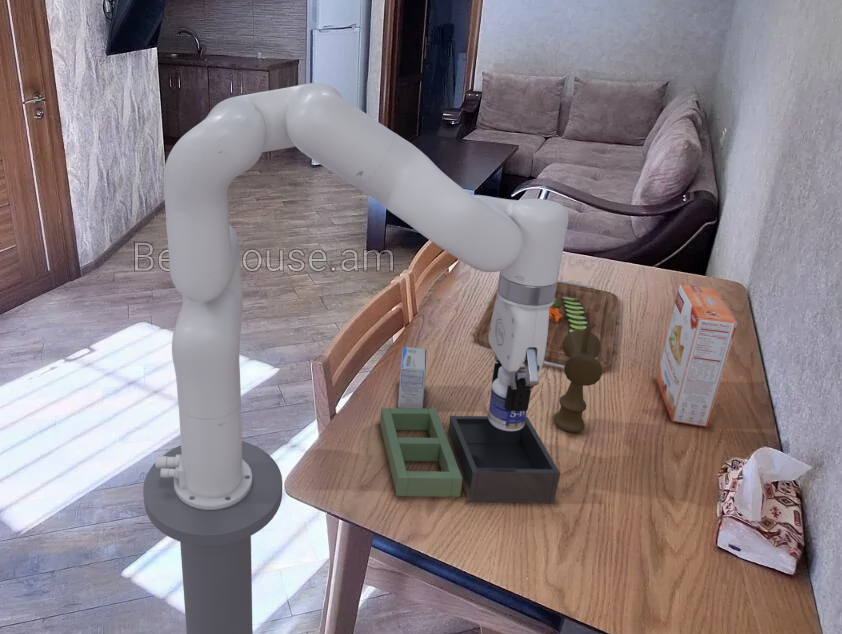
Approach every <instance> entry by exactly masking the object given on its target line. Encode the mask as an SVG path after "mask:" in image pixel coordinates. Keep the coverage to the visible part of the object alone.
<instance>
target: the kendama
mask: <svg viewBox="0 0 842 634" xmlns="http://www.w3.org/2000/svg"><path fill="white" fill-rule="evenodd" d="M590 331H591V325H590V324H588V325H587V327H586V329H585V330H575V331H572V332H569V333H568V334H567V335H566V336H565V338H564V340H563V343H562V349H563V351H564V353H565V355H566V356H567V357H569V359H568V360H567V362H566V364H565V366H564V370H563V371H564V375H565V377H566V379H567V380H568V381H570V383H569V386H568V388H567V390H566V392H565V394H562V396H560V397H559V400H558V402H559V405H560V408H559V411H558V412H557V413H555V414H554V416H553V419H552V420H553V422H554V423H553V424H554V425H555V426H556V427H557V428H559V429H560V430H562V431H563V432H568V433H575V434H576V433H581V432H582V431H584V430H585V426H586V424H585V421H584V419H583V412H585V410H587V403H586V401H585V400H584V386H585V387H589V386H593V385H596V384H597V383H598V382H599V381H600V380H601V377H602V376H603V373H602V366H601V364H600V362H599V361H598V360H597V359H595V358H596V357H597V356H598V355H599V352H600V350H601V343H600V341H599V339H598V337H597V336H596V335H594V334H593V333H591V332H590Z"/></svg>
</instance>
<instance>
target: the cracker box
mask: <svg viewBox="0 0 842 634" xmlns="http://www.w3.org/2000/svg"><path fill="white" fill-rule="evenodd" d="M726 305H727V304H726V303H725V302H724V301H723V299H722V298H721V296H720V295H719V293H718V291H717V290H716V289H715V288H714V287H705V286H697V285H689V284H679V286H678V289H677V294H676V297H675V302H674V307H673V311H672V314H671V318H670V324H669V327H668V330H667V336H666V339H665V343H664V348H663V351H662V356H661V359H660V364H659V368H658V372H657V376H656V382H657V384H658V388H659V392H660V394H661V396H662V399H663V402H664V405H665V408H666V411H667V413H668V416H669V419H670V421H671V422H673V423H678V424H679V423H680V424H685V425H690V426H691V425H692V426H696V427H703V428H707V427H708V426H709V423H710V422H709V421H710V418H711V415H712V411H713V409H714V406H715V405H714V404H715V401H716V399H717V394H718V391H719V388H720V383H721V380H722V377H723V374H724V370H725V368H726V367H725V366H726V364H727V359H728V357H729V353H730V349H731V346H732V343H733V339H734V337H735V333H736V329H737V326H738V321H737V320H736V319H735V317H734V316H733V314H732V313H731V311H730V310H729V308H728V307H727V306H726Z"/></svg>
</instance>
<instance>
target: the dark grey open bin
mask: <svg viewBox="0 0 842 634" xmlns="http://www.w3.org/2000/svg"><path fill="white" fill-rule="evenodd" d="M448 422H449V424H448V432H447V439H448V441H449V444H450V446H451V449H452V452H453V454H454V457H455V460H456V462H457V465H458V468H459V470H460V473H461V476H462V478H463V479H462V488H463V491H464V493H465V496H466V499H467V501H468V503H499V504H500V503H502V504H504V503H505V504H511V503H512V504H555V502H556V501H555V500H556V496H557V493H558V486H559V482H560V477H561V471H560V470H559V468H558V467H557V465H556V463H555V461H554V460H553V458H552V456H551V454H550V453H549V451H548V450H547V448H546V446H545V444H544V443H543V441H542V439H541V437H540V435H539V434H538V433H537V430H536V429H535V427H534V425H533V424H532V422H531V420H530V419H529V417H528V416H526V419H525V424H524V427H523V428H522V429H520V430H517V431H504V430H501V429H498V428H496V427H495V426H493V425H492V424H491V423H490V421H489V419H488V415H450V416H449V421H448Z"/></svg>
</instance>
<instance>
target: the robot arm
mask: <svg viewBox="0 0 842 634" xmlns="http://www.w3.org/2000/svg"><path fill="white" fill-rule="evenodd" d="M291 148H296V149H297V150H299V151H300V153H302V154H304V155H305V156H307V157H308V158H310V159H311V160H313V161H314V162H315V163H317V164H319V165H320V166H322V167H324V168H326V169H327V170H328V171H330V172H332V173H333V174H335V175H336V176H338V177H339V178H341V179H343V180H344V181H346V182H347V183H348V184H351V185H352V186H353V187H355V188H357V189H358V190H360V191H361V192H363V193H365V194H366V195H367V196H368V197H371V198H372V199H374V200H375V201H377V202H378V203H379V204H381V205H382V207H384V208H385V209H386V210H387V211H389V212H390V213H391V214H393V215H394V216H396V217H397V218H399V219H400V220H401V221H403V222H404V223H406V224H407V225H409V226H410V227H411V228H412V229H414V230H415V231H416V232H418V233H419V234H420V235H422V236H423V237H425V238H426V239H427V240H429V241H430V242H432V243H433V244H434V245H436V246H437V247H439V248H440V249H441V250H443V251H445V252H446V253H448V254H449V255H451V256H452V257H454V258H456V259H457V260H459V261H460V262H462V263H464V264H466V265H467V266H469V267H470V268H473V269H474V270H477V271H481V272H484V273H498V272H499V275H498V282H497V289H496V290H497V297H496V301H495V305H494V310H493V314H492V320H491V325H490V330H489V336H488V340H489V344H490V346H491V348H490V349H492V352H493V354H495V355H494V361H495V362H494V365H493V371H492V378H491V385H492V384H493V382H494V380H496V379H497V378H498V371H499V368H500V367H501V366H503V367H504V368H505V369H506V370H507V371H508V372H511V386H508V388H507V394H506V400H505V409H506V411H528V410H529V404H530V401H531V400H530V398H531V393H532V391H533V389H534V387H536V386H539V384H540V379H539V372H540V371H541V370H542V368H543V366H544V365H543V361H544V356H545V351H546V343H547V335H548V324H549V307H550V306H551V305H553V303H554V299H555V294H556V288H557V282H558V280H559V275H560V270H561V265H562V259H563V254H564V249H565V243H566V236H567V231H568V226H569V219H570V215H569V211H568V209H567V208H566V207H565V206H564V205H563V204H561V203H559V202H556V201H553V200H550V199H544V198H535V197H534V198H522V199H518V200H517V199H507V198H502V197H494V196H490V195H481V194H472V193H470V192H468V191H467V190H465V189H464V188H463V187H461V186H460V185H459V184H457V182H455V181H454V180H453V179H451V178H450V177H449V176H448V175H447V174H446V173H444V172H443V171H442V170H441V169H440V168H439V167H438V166H437V165H436V164H435V163H434V162H433V161H432V160H431V158H429V156H427V155H426V154H425V153H424V152H423V151H421V149H419V148H418V147H416V146H415V145H414V144H413V143H411V142H410V141H408V140H406V139H405V138H403V137H402V136H401V135H399V134H398V133H396V132H394V131H392V130H391V129H389V128H388V127H386V126H385V125H384V124H382V123H381V122H379V121H378V120H376V119H375V118H374V117H372V116H370V115H369V114H367V113H366V112H365V111H363V110H361V109H360V108H358V107H357V106H356V105H354V104H353V103H351V102H349V101H348V100H347V99H345V98H344V97H343V96H342V94H341V93H340V91H338V90H337V89H336V88H335V87H333V86H331V85H330V84H327V83H323V82H309V83H304V84H299V85H298V84H297V85H293V86H287V87H283V88H282V87H281V88H277V89H272V90H266V91H259V92H253V93H248V94H243V95H237V96H232V97H229V98H226V99H224V100H222V101H220V102H218V103H217V104H216V105H215V106H213V107H212V109H211V110H210V111H209V112H208V114H207V116H206V117H205V118H204V119H203V120H201V122H199V123H198V124H196V125H195V126H193V127H192V128H191V129H189V131H187V132H185V134H183V135H182V136H181V137H180V138H179V139H178V141H177V142H176V143H175V144H174V146H173V147H172V149H171V150H170V152H169V154H168V156H167V159H166V161H165V165H164V171H163V196H164V198H163V199H164V207H165V208H164V210H165V228H166V239H167V250H168V270H169V274H170V278H171V281H172V284H173V286H174V287H175V289H176V291H177V292H178V293H179V294H180V295H181V296H182V303H181V304H182V305H181V308H180V311H179V313H178V316H177V318H176V322H175V325H174V329H173V333H172V340H171V356H172V363H173V368H174V374H175V381H176V392H177V393H176V394H177V405H178V419H179V434H180V445H181V452H182V454H176V457H168V456H163V455H156V457H155V461H154V463H155V467H156V468H161V472H160V476H161V477H174V490H175V492H176V494H177V496H178V497H179V498H180V500H182V501H183V502H184V503H186V504H187V505H189V506H191V507H194V508H198V509H203V510H217V509H223V508H226V507H229V506H232V505H234V504H236V503H238V502H239V501H241V500H242V499H243V498H244V497H245V496H246V495H247V494H248V492H249V491H250V489H251V486H252V472H251V469H250V467H249V465H248V464H247V463H246V462H245V461H244V460H243V459H242V441H243V433H242V432H243V429H242V393H241V392H242V391H241V370H240V369H241V367H240V345H241V334H242V322H243V309H244V307H243V305H244V304H243V301H244V300H243V287H242V286H243V285H242V268H241V267H242V266H241V253H240V252H241V250H240V248H241V247H240V241H239V238H238V235H237V232H236V230H235V229H234V228H233V226H232V224H230V219H229V218H230V216H229V215H230V213H229V212H230V209H229V208H230V207H229V199H228V190H229V187H230V185H231V183H232V182H233V181H234V179H236V178H237V177H238V176H240V175H242V174H243V173H245V172H247V171H248V170H250V169H251V168H252V167H253V166H255V164H257V162H258V161H259V160H260V157H261V156H262V154H263V153H267V152H273V151H279V150H284V149H291ZM522 365H524V366H522ZM518 373H526V376H525V377H524V378H520V379H519V380H518ZM169 468H175V469H169Z"/></svg>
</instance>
